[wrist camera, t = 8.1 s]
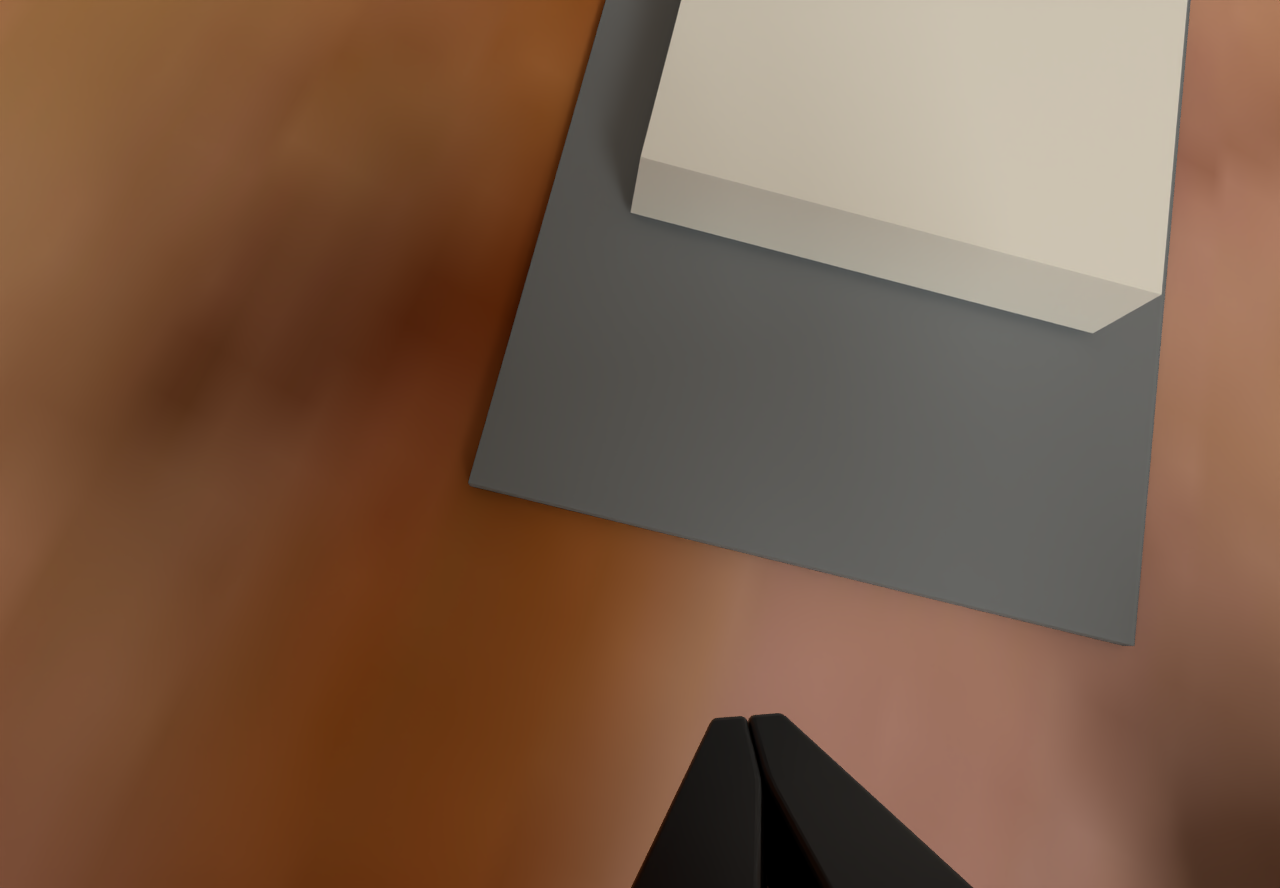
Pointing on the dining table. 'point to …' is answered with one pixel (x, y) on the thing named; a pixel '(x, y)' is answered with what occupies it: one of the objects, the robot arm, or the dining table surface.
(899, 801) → the dining table surface
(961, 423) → the mat
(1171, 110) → the tile
